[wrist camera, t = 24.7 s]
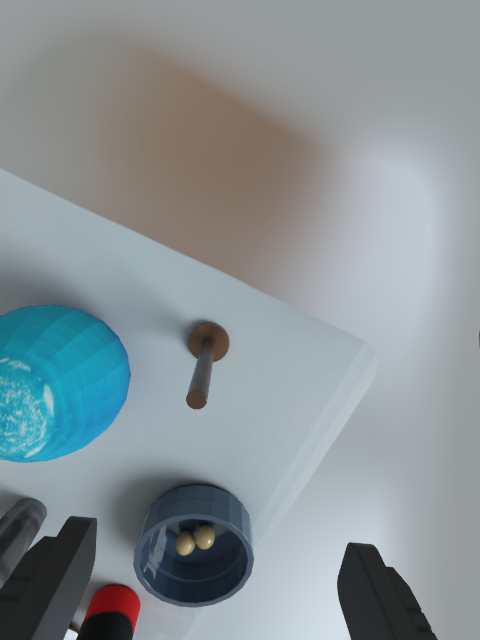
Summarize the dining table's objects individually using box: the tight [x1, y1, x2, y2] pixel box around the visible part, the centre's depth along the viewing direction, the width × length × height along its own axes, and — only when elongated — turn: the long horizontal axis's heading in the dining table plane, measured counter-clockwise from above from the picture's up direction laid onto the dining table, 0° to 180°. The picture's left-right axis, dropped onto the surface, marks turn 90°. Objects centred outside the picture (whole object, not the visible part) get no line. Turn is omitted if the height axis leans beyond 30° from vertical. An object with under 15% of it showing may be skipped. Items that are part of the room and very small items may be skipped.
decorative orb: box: [0, 305, 131, 463], centre depth 29 cm, size 15×15×15 cm
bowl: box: [133, 485, 254, 607], centre depth 40 cm, size 16×16×5 cm
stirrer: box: [186, 323, 229, 409], centre depth 29 cm, size 5×5×15 cm
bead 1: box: [175, 531, 195, 556], centre depth 41 cm, size 3×3×3 cm
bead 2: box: [195, 525, 215, 549], centre depth 41 cm, size 3×3×3 cm
